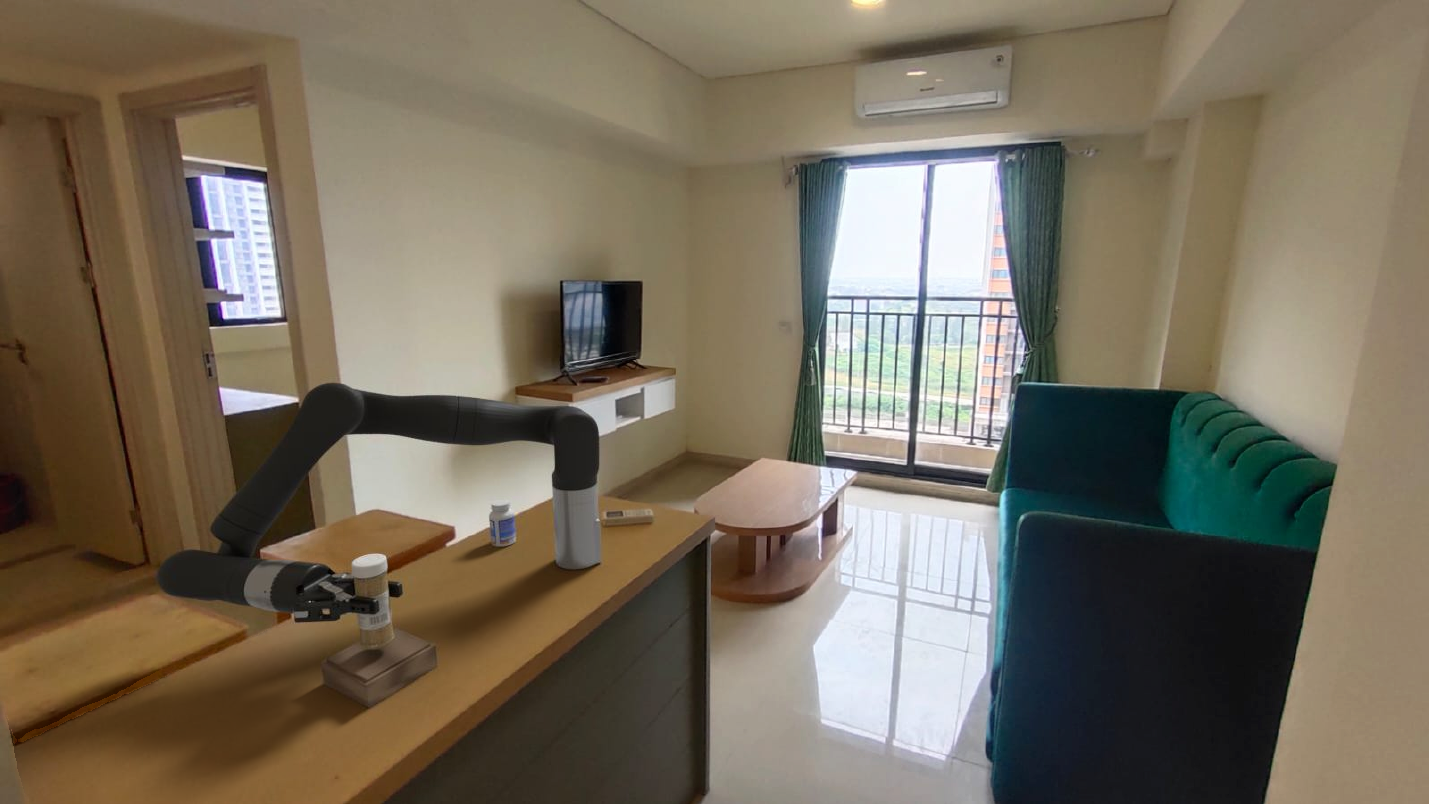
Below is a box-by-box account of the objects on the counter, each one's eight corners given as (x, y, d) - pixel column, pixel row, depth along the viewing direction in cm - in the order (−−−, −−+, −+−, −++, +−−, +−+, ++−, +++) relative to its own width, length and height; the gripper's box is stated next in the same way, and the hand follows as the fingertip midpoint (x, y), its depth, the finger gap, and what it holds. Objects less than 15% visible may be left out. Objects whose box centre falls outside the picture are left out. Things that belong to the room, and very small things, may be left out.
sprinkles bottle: (394, 631, 95) (387, 550, 93) (393, 646, 91) (385, 562, 89) (360, 638, 93) (352, 555, 91) (358, 654, 89) (349, 568, 87)
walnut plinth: (393, 646, 101) (390, 623, 100) (437, 666, 95) (435, 642, 95) (323, 683, 91) (320, 659, 90) (369, 708, 86) (366, 682, 85)
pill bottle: (519, 538, 143) (517, 498, 141) (510, 548, 138) (507, 507, 136) (497, 537, 144) (494, 497, 142) (486, 547, 138) (483, 506, 136)
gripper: (243, 585, 86) (350, 599, 83) (324, 543, 99) (419, 553, 96) (250, 634, 87) (355, 649, 84) (329, 586, 101) (422, 597, 98)
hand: (389, 598), depth 90 cm, fingers closed on sprinkles bottle, 4 cm apart
